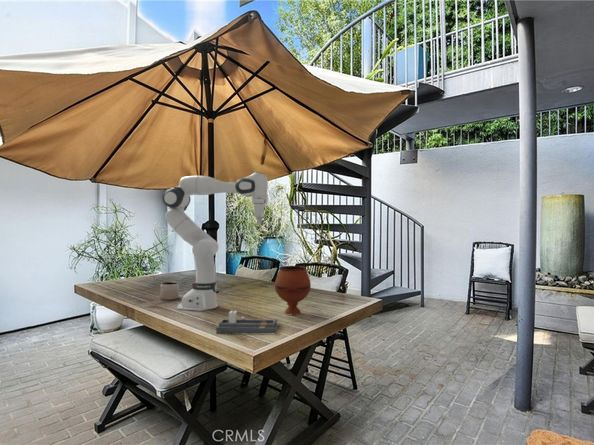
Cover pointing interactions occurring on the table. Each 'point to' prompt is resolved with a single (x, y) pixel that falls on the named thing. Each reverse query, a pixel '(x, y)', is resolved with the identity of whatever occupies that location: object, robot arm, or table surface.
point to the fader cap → (233, 316)
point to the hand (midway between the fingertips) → (259, 225)
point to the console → (247, 326)
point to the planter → (169, 290)
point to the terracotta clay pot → (292, 286)
